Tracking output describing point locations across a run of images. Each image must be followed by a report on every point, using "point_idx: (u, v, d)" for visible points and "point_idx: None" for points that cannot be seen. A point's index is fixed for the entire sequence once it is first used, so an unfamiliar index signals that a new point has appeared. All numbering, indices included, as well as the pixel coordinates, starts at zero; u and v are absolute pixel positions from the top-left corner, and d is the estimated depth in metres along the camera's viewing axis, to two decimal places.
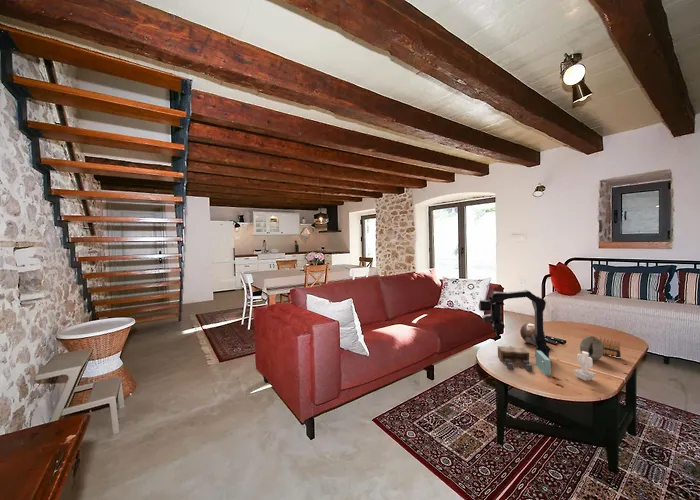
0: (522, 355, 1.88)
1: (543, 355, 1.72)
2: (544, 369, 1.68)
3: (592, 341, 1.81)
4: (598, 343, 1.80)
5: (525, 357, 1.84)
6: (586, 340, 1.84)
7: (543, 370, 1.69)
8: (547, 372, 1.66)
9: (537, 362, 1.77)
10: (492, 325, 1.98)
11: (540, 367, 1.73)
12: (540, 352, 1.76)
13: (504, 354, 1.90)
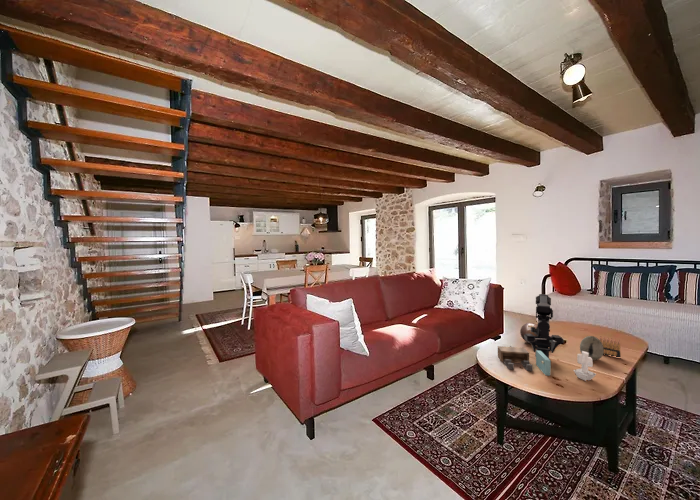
0: (522, 355, 1.88)
1: (543, 355, 1.72)
2: (544, 369, 1.68)
3: (592, 341, 1.81)
4: (598, 343, 1.80)
5: (525, 357, 1.84)
6: (586, 340, 1.84)
7: (543, 370, 1.69)
8: (547, 372, 1.66)
9: (537, 362, 1.77)
10: (551, 344, 1.72)
11: (540, 367, 1.73)
12: (540, 352, 1.76)
13: (504, 354, 1.90)
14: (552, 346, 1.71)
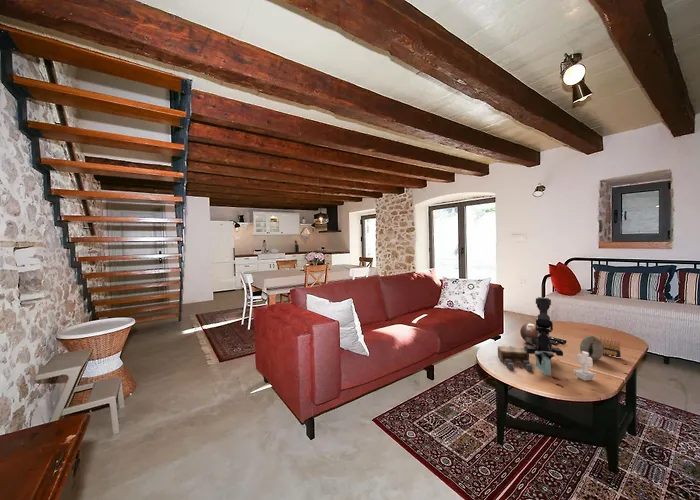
0: (522, 355, 1.88)
1: (543, 355, 1.72)
2: (544, 369, 1.68)
3: (592, 341, 1.81)
4: (598, 343, 1.80)
5: (525, 357, 1.84)
6: (586, 340, 1.84)
7: (543, 370, 1.69)
8: (547, 372, 1.66)
9: (537, 362, 1.77)
10: None
11: (540, 367, 1.73)
12: (540, 352, 1.76)
13: (504, 354, 1.90)
14: None
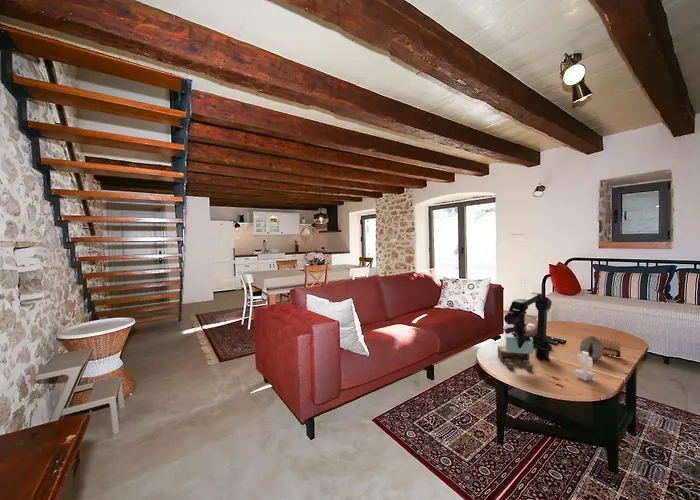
0: (522, 355, 1.88)
1: None
2: (529, 348, 1.73)
3: (592, 341, 1.81)
4: (598, 343, 1.80)
5: (525, 357, 1.84)
6: (586, 340, 1.84)
7: (527, 350, 1.73)
8: None
9: (511, 348, 1.75)
10: None
11: (519, 350, 1.74)
12: (511, 336, 1.76)
13: (504, 354, 1.90)
14: None
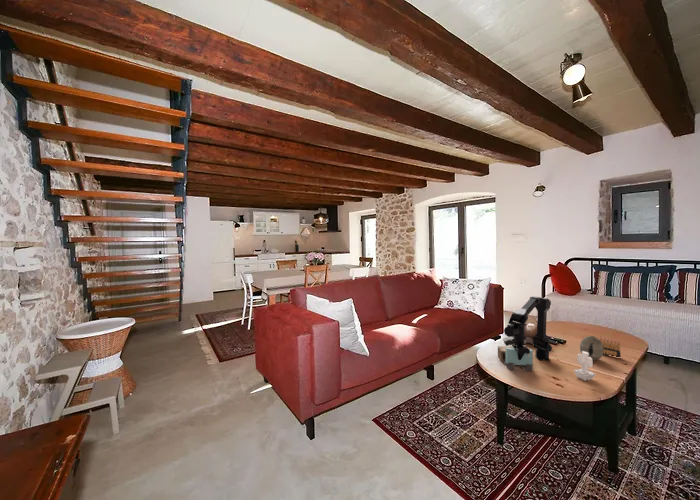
0: None
1: None
2: (529, 360, 1.73)
3: (592, 341, 1.81)
4: (598, 343, 1.80)
5: None
6: (586, 340, 1.84)
7: (527, 362, 1.73)
8: None
9: (511, 360, 1.75)
10: None
11: (519, 362, 1.74)
12: (511, 348, 1.76)
13: (504, 354, 1.90)
14: None
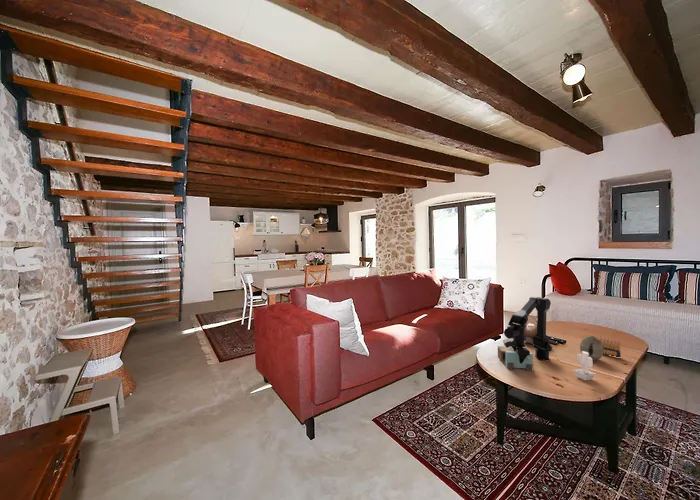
0: None
1: None
2: (529, 363, 1.73)
3: (592, 341, 1.81)
4: (598, 343, 1.80)
5: None
6: (586, 340, 1.84)
7: None
8: None
9: None
10: (514, 350, 1.80)
11: (519, 365, 1.74)
12: (511, 351, 1.76)
13: (504, 354, 1.90)
14: None
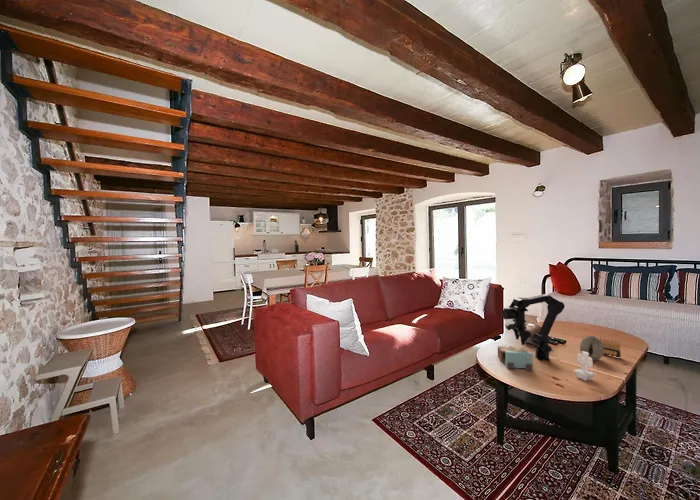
0: None
1: (519, 352, 1.75)
2: (529, 363, 1.73)
3: (592, 341, 1.81)
4: (598, 343, 1.80)
5: None
6: (586, 340, 1.84)
7: None
8: None
9: None
10: (514, 332, 1.90)
11: (519, 365, 1.74)
12: (511, 351, 1.76)
13: (504, 354, 1.90)
14: (517, 333, 1.90)
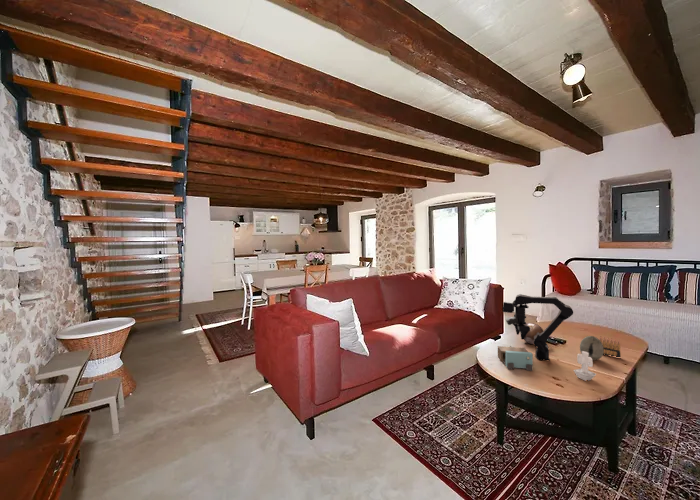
0: None
1: (519, 352, 1.75)
2: (529, 363, 1.73)
3: (592, 341, 1.81)
4: (598, 343, 1.80)
5: None
6: (586, 340, 1.84)
7: None
8: None
9: None
10: (515, 328, 1.99)
11: (519, 365, 1.74)
12: (511, 351, 1.76)
13: (504, 354, 1.90)
14: (518, 328, 1.98)
